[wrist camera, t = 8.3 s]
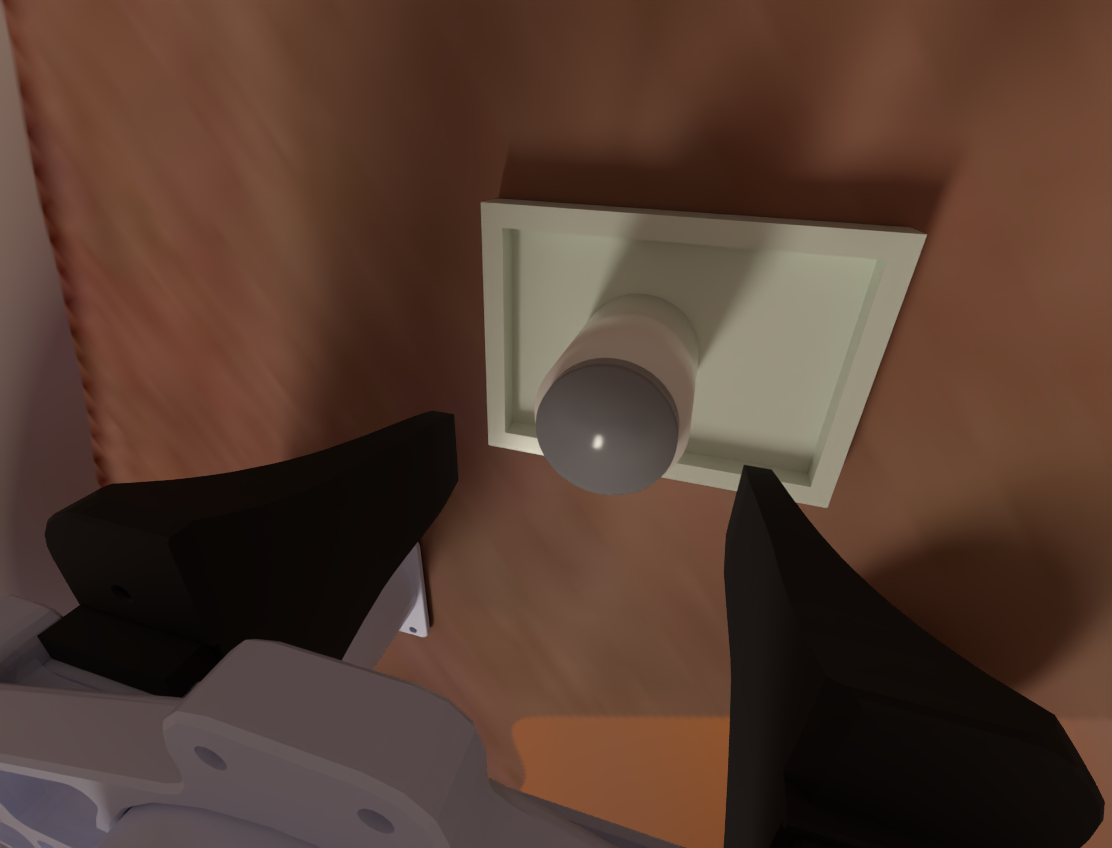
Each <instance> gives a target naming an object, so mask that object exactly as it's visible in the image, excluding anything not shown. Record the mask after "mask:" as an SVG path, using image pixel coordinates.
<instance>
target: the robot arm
mask: <svg viewBox="0 0 1112 848" xmlns="http://www.w3.org/2000/svg"><path fill="white" fill-rule="evenodd" d="M457 481H458V467H457V452H456V438H455V423H454V414H448V413H443V412H437V411H430V412H426V413H423V414H420V415H417V416H414V417H411V418H409V419H406V420H403V421H401V422H398V423H396V424H393V425H391V426H388V427H386V428H383V429H380V430H378V431H375V432H373V433H370V434H368V435H365V436H362V437H360V438H357V439H354V440H351V441H348V442H346V443H343V444H340V445H337V446H334V447H331V448H329V449H326V450H322V451H319V452H316V453H313V454H309V455H306V456H302V457H298V458H295V459H291V460H287V461H283V462H279V463H275V464H270V465H265V466H260V467H255V468H250V469H245V470H240V471H235V472H229V473H222V474H216V475H209V476H201V477H193V478H185V479H175V480H164V481H150V482H136V483H119V484H110V485H107V486H105V487H103V488H100V489H99V490H97V491H95V492H93V493H91V494H90V495H88V496H86V497H84V498H82V499H80V500H79V501H77V502H75V503H73V504H71V505H69V506H68V507H66V508H64V509H62V510H60V511H59V512H57V513H55V514H54V515H53V516H52V517H50V518H49V519H48V521H47V526H46V531H45V538H46V543H47V547H48V549H49V551H50V553H51V555H52V557H53V559H54V561H55V562H56V564H57V566H58V568H59V570H60V571H61V573H62V575H63V577H64V578H65V580H66V582H67V583H68V585H69V587H70V589H71V590H72V592H73V594H74V595H75V597H76V599H77V600H78V602H79V604H81V605H79V606H78V607H77V608H75V609H74V610H72V611H71V612H70V613H68V614H67V615H65V616H64V617H63V616H62V615H61V614H60V613H58V612H57V611H56V610H55V609H53V608H51V607H49V606H46V605H44V604H41V603H37V602H35V601H31V600H28V599H25V598H22V597H19V596H16V595H13V594H5V595H3V596H1V597H0V848H685V847H682V846H679V845H676V844H673V843H670V842H667V841H664V840H661V839H659V838H655V837H653V836H650V835H647V834H644V833H641V832H638V831H635V830H632V829H629V828H626V827H623V826H621V825H618V824H615V823H611V822H609V821H606V820H603V819H600V818H597V817H594V816H591V815H588V814H585V813H582V812H579V811H577V810H573V809H571V808H568V807H565V806H562V805H559V804H556V803H553V802H550V801H547V800H544V799H541V798H538V797H536V796H533V795H530V794H527V793H524V792H521V791H518V790H515V789H512V788H509V787H507V786H505V785H503V784H501V783H500V782H498V781H496V780H494V779H492V778H490V777H488V773H487V754H486V750H485V748H484V746H483V743H482V741H481V739H480V736H479V734H478V732H477V729H476V727H475V725H474V722H473V721H472V720H471V719H470V718H469V717H468V716H467V715H466V714H465V713H464V712H463V711H461V710H460V709H459V708H458V707H457V706H456V705H455V704H454V703H453V702H452V701H451V700H449V699H448V698H446V697H444V696H442V695H440V694H437V693H435V692H433V691H431V690H429V689H427V688H425V687H423V686H421V685H419V684H416V683H413V682H410V681H406V680H403V679H400V678H397V677H393V676H390V675H387V674H384V673H380V672H377V671H374V670H373V669H374V667H375V666H376V664H377V663H378V661H379V660H380V658H381V657H382V655H383V654H384V652H385V651H386V649H387V648H388V646H389V645H390V643H391V642H392V640H393V639H394V637H395V636H396V634H397V633H398V632H399V631H402V632H406V633H409V634H413V635H416V636H420V637H426V636H427V635H428V633H429V632H430V625H429V617H428V609H427V601H426V592H425V584H424V576H423V567H422V559H421V551H420V545H419V542H418V541H419V540H420V539H421V537H422V536H423V535H424V533H425V532H426V531H427V529H428V528H429V527H430V525H431V524H432V523H433V521H434V520H435V519H436V517H437V516H438V515H439V513H440V512H441V511H442V509H443V507H444V505H445V504H446V502H447V500H448V498H449V497H450V495H451V493H452V491H453V489H454V487H455V485H456V483H457ZM724 580H725V593H726V607H727V619H728V632H729V645H730V657H731V704H730V734H729V758H728V781H727V799H726V818H725V835H724V848H1080V847H1081V846H1083V845H1084V844H1085V843H1086V842H1087V841H1088V840H1089V839H1090V838H1091V836H1092V835H1093V834H1094V832H1095V831H1096V829H1097V828H1098V826H1099V825H1100V824H1101V822H1102V821H1103V817H1104V804H1105V802H1104V799H1103V798H1102V795H1101V793H1100V791H1099V789H1098V787H1097V785H1096V783H1095V781H1094V779H1093V778H1092V776H1091V774H1090V772H1089V771H1088V769H1087V767H1086V765H1085V764H1084V762H1083V760H1082V758H1081V757H1080V755H1079V753H1078V751H1077V750H1076V748H1075V747H1074V745H1073V743H1072V742H1071V740H1070V738H1069V737H1068V735H1067V733H1066V732H1065V730H1064V728H1063V727H1062V725H1061V724H1060V722H1059V721H1058V720H1057V718H1056V716H1055V715H1054V714H1052V713H1051V712H1049V711H1047V710H1046V709H1044V708H1042V707H1041V706H1039V705H1037V704H1036V703H1034V702H1032V701H1031V700H1029V699H1028V698H1026V697H1024V696H1023V695H1021V694H1019V693H1018V692H1016V691H1014V690H1013V689H1011V688H1009V687H1008V686H1006V685H1005V684H1003V683H1001V682H1000V681H998V680H996V679H995V678H993V677H991V676H990V675H988V674H986V673H985V672H983V671H982V670H980V669H979V668H977V667H976V666H974V665H973V664H971V663H970V662H969V661H967V660H966V659H964V658H963V657H961V656H960V655H958V654H957V653H955V652H954V651H953V650H951V649H950V648H948V647H947V646H945V645H944V644H942V643H941V642H940V641H938V640H937V639H936V638H934V637H933V636H931V635H930V634H929V633H927V632H926V631H925V630H923V629H922V628H921V627H919V626H918V625H917V624H916V623H914V622H913V621H912V620H911V619H909V618H908V617H907V616H906V615H904V614H903V613H902V612H901V611H899V610H898V609H897V608H896V607H894V606H893V605H892V604H891V603H889V602H888V601H887V600H886V599H885V598H884V597H883V596H881V595H880V594H879V593H878V592H877V591H876V590H874V589H873V588H872V587H871V586H870V585H869V584H868V583H867V582H866V581H865V580H864V579H863V578H862V577H861V576H860V575H859V574H857V573H856V572H855V571H854V570H853V569H852V568H851V567H850V566H849V565H848V564H847V563H846V562H845V561H844V560H843V559H842V558H841V557H840V555H839V554H838V553H837V552H836V551H835V550H834V549H833V548H832V547H831V545H830V544H829V543H828V542H827V541H826V540H825V539H824V538H823V537H822V535H821V534H820V533H819V532H818V531H817V529H816V528H815V527H814V526H813V525H812V523H811V522H810V521H809V520H808V518H807V517H806V516H805V514H804V513H803V512H802V510H801V509H800V508H799V506H798V505H797V504H796V502H795V501H794V500H793V498H792V497H791V495H790V494H789V493H788V491H787V490H786V488H785V487H784V485H783V484H782V483H781V481H780V480H779V478H778V477H777V476H776V474H775V473H774V471H773V470H772V469H766V468H761V467H755V466H749V465H744V466H743V469H742V473H741V477H740V481H739V485H738V489H737V493H736V497H735V501H734V505H733V509H732V513H731V517H730V521H729V525H728V529H727V533H726V544H725V561H724Z"/></svg>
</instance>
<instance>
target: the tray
mask: <svg viewBox="0 0 1112 848" xmlns="http://www.w3.org/2000/svg"><path fill="white" fill-rule="evenodd" d="M481 228H482V259H483V291H484V322H485V353H486V385H487V416H488V445H491V446H496V447H502V448H507V449H512V450H518V451H523V452H529V453H534V454H539V455H543V453H542V450H541V448H540V446H539V443H538V439H537V434H536V423H535V415H534V407H535V399H536V395H537V392H538V389H539V387H540V385H541V382H542V381H543V379H544V378H545V376H546V375H547V373H548V372H549V371H550V369H551V368H552V367H553V366H554V364H555V363H556V362H557V360H558V359H559V358H560V356H561V355H562V354H563V353H564V351H565V350H566V349H567V347H568V346H569V345H570V344H571V342H572V341H573V340H574V338H575V337H576V336H577V335H578V333H579V332H580V331H581V329H582V328H583V327H584V326H585V324H586V323H587V322H588V320H589V319H590V318H591V317H592V315H593V314H594V313H595V312H596V311H597V310H598V309H599V308H600V307H601V306H603V305H604V304H606V303H607V302H609V301H611V300H613V299H615V298H618V297H621V296H624V295H630V294H647V295H652V296H656V297H659V298H662V299H664V300H666V301H668V302H670V303H672V304H673V305H675V306H676V307H677V308H678V309H680V310H681V311H682V312H683V313H684V314H685V315H686V317H687V318H688V319H689V321H690V322H691V324H692V326H693V328H694V330H695V332H696V335H697V339H698V344H699V359H698V368H697V376H696V385H695V393H694V402H693V411H692V419H691V428H690V435H689V440H688V443H687V446H686V449H685V451H684V453H683V455H682V456H681V458H680V459H679V461H678V462H677V463H676V464H675V466H674V467H673V468H672V469H671V470H670V471H668V472H667V473H666V474H665V475H663V476H662V477H663V478H668V479H674V480H679V481H685V482H690V483H695V484H701V485H706V486H711V487H717V488H722V489H728V490H733V491H737V489H738V485H739V481H740V477H741V473H742V469H743V466H744V465H749V466H755V467H761V468H766V469H772V470H773V471H774V473H775V474H776V476H777V477H778V478H779V480H780V481H781V483H782V484H783V485H784V487H785V488H786V490H787V491H788V493H789V494H790V495H791V497H792V498H793V500H794V501H795V502H797V503H803V504H808V505H814V506H819V507H824V508H827V507H828V505H829V502H830V499H831V496H832V494H833V491H834V488H835V485H836V483H837V480H838V477H839V475H840V472H841V469H842V466H843V464H844V461H845V458H846V455H847V453H848V450H849V447H850V444H851V442H852V439H853V436H854V434H855V431H856V428H857V425H858V423H859V420H860V417H861V414H862V412H863V409H864V406H865V403H866V401H867V398H868V395H869V392H870V390H871V387H872V384H873V382H874V379H875V376H876V373H877V371H878V368H879V365H880V362H881V360H882V357H883V354H884V351H885V349H886V346H887V343H888V341H889V338H890V335H891V332H892V330H893V327H894V324H895V321H896V319H897V316H898V313H899V310H900V308H901V305H902V302H903V300H904V297H905V294H906V291H907V289H908V286H909V283H910V280H911V278H912V275H913V272H914V269H915V267H916V264H917V261H918V258H919V256H920V253H921V250H922V248H923V245H924V242H925V239H926V237H927V234H925V233H923V232H920V231H918V230H916V229H913V228H911V227H900V226H886V225H872V224H858V223H843V222H829V221H815V220H801V219H786V218H772V217H758V216H744V215H730V214H715V213H701V212H687V211H673V210H658V209H644V208H630V207H616V206H601V205H587V204H573V203H559V202H544V201H530V200H516V199H502V198H496V199H492V200H488V201H483V202H481Z"/></svg>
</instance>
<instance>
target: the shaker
mask: <svg viewBox="0 0 1112 848" xmlns="http://www.w3.org/2000/svg"><path fill="white" fill-rule="evenodd" d="M698 359H699V344H698V339H697V335H696V332H695V330H694V328H693V326H692V324H691V322H690V321H689V319H688V318H687V317H686V315H685V314H684V313H683V312H682V311H681V310H680V309H678V308H677V307H676V306H675V305H673V304H672V303H670V302H668V301H666V300H664V299H662V298H659V297H656V296H652V295H647V294H630V295H624V296H621V297H618V298H615V299H613V300H611V301H609V302H607V303H606V304H604V305H603V306H601V307H600V308H599V309H598V310H597V311H596V312H595V313H594V314H593V315H592V317H591V318H590V319H589V320H588V322H587V323H586V324H585V326H584V327H583V328H582V329H581V331H580V332H579V333H578V335H577V336H576V337H575V338H574V340H573V341H572V342H571V344H570V345H569V346H568V347H567V349H566V350H565V351H564V353H563V354H562V355H561V356H560V358H559V359H558V360H557V362H556V363H555V364H554V366H553V367H552V368H551V369H550V371H549V372H548V373H547V375H546V376H545V378H544V379H543V381H542V382H541V385H540V387H539V389H538V392H537V395H536V399H535V407H534V415H535V423H536V434H537V439H538V443H539V446H540V448H541V450H542V453H543V455H544V456H545V458H546V460H547V461H548V462H549V464H550V465H551V466H552V467H553V468H554V470H555V471H556V472H557V473H558V474H560V475H561V476H562V477H563V478H564V479H566V480H567V481H569V482H570V483H572V484H574V485H576V486H578V487H580V488H582V489H585V490H587V491H590V492H594V493H598V494H604V495H624V494H630V493H634V492H637V491H640V490H642V489H645V488H647V487H648V486H650V485H652V484H653V483H655V482H656V481H657V480H658V479H660V478H661V477H662V476H663V475H665V474H666V473H667V472H668V471H670V470H671V469H672V468H673V467H674V466H675V464H676V463H677V462H678V461H679V459H680V458H681V456H682V455H683V453H684V451H685V449H686V446H687V443H688V440H689V435H690V428H691V419H692V411H693V402H694V393H695V385H696V376H697V368H698Z"/></svg>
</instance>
